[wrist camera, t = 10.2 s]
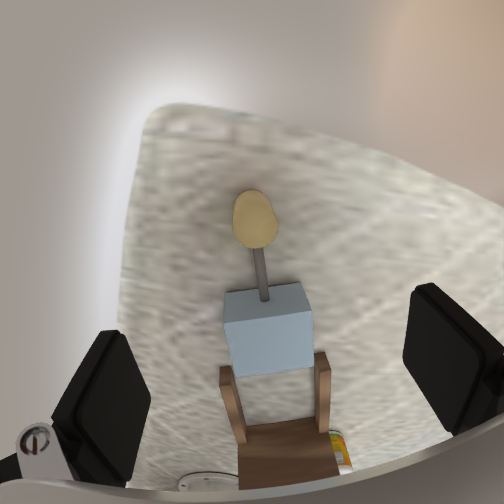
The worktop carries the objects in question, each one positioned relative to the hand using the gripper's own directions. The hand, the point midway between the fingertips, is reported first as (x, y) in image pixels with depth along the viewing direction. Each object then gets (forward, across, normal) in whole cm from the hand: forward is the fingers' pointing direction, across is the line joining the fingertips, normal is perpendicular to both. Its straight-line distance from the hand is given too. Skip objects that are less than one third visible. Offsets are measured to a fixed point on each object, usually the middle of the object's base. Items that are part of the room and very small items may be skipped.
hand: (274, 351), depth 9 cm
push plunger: (+18, 0, +5) cm, 19 cm away
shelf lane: (+19, 0, +22) cm, 29 cm away
